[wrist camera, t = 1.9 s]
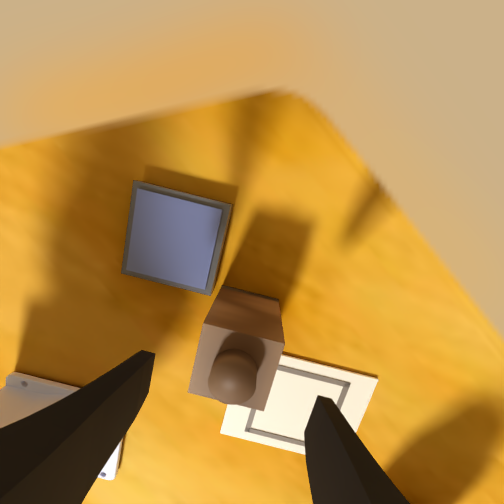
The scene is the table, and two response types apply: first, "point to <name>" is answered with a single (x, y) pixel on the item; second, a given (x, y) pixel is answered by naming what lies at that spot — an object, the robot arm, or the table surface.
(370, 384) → the form sheet
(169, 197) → the ink pad
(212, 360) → the stamp
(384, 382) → the table surface
